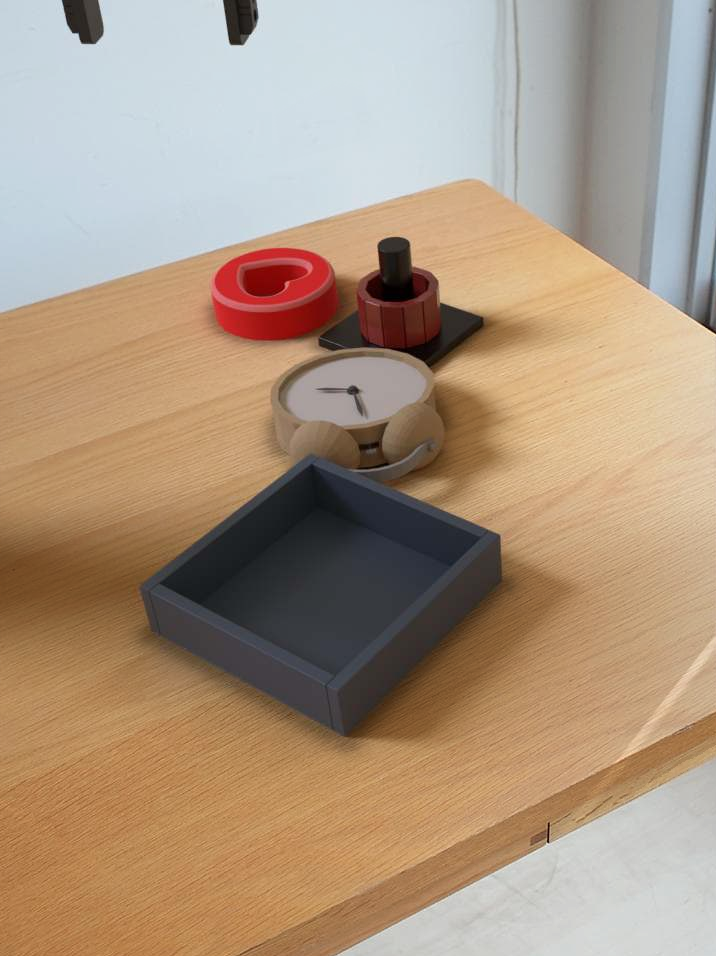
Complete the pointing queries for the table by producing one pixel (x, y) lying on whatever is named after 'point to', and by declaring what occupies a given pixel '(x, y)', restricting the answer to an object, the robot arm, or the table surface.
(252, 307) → the decorative ornament
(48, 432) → the table surface
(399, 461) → the alarm clock
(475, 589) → the box
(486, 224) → the table surface
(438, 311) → the ring
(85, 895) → the table surface
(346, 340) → the post
